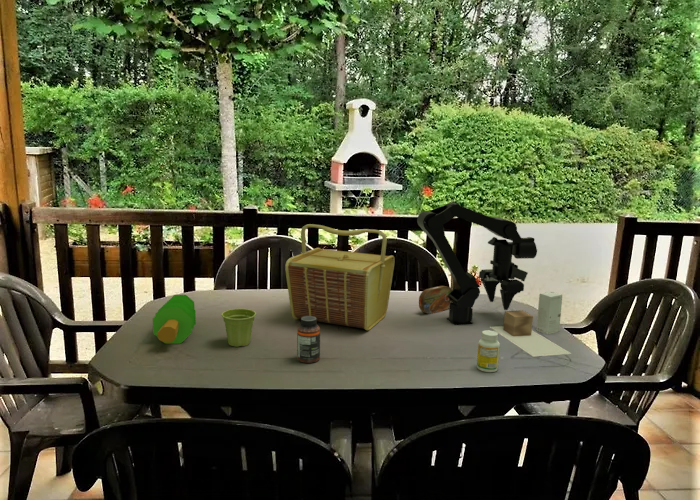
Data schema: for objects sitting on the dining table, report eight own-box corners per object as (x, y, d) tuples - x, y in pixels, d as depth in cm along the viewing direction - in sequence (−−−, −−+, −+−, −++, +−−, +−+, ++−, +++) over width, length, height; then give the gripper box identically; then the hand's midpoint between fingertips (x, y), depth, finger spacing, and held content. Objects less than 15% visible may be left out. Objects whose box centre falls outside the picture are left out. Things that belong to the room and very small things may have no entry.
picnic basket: (281, 323, 173) (281, 228, 167) (316, 302, 197) (318, 218, 191) (369, 338, 162) (372, 236, 157) (395, 314, 186) (399, 225, 180)
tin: (423, 316, 185) (424, 291, 183) (416, 313, 187) (417, 289, 185) (453, 308, 194) (454, 285, 192) (446, 306, 196) (447, 283, 195)
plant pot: (262, 340, 158) (262, 310, 157) (245, 351, 149) (245, 320, 148) (233, 335, 161) (233, 306, 160) (215, 346, 152) (214, 316, 151)
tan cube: (513, 336, 166) (515, 317, 165) (503, 329, 172) (504, 311, 171) (531, 335, 167) (533, 316, 166) (520, 328, 173) (522, 310, 172)
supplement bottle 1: (305, 353, 149) (306, 313, 147) (324, 358, 146) (325, 317, 144) (292, 360, 144) (292, 318, 142) (311, 365, 141) (312, 323, 139)
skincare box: (547, 335, 169) (551, 296, 166) (535, 331, 172) (538, 293, 170) (559, 332, 172) (563, 294, 170) (547, 327, 176) (551, 290, 173)
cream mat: (533, 357, 151) (533, 356, 151) (488, 327, 174) (489, 326, 174) (571, 354, 153) (571, 353, 153) (523, 325, 177) (523, 324, 177)
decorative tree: (155, 308, 144) (174, 276, 173) (139, 346, 146) (161, 308, 175) (197, 323, 147) (208, 289, 176) (181, 361, 149) (195, 321, 178)
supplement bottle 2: (492, 374, 139) (495, 338, 137) (472, 368, 142) (475, 332, 140) (501, 368, 143) (504, 332, 141) (482, 362, 146) (485, 327, 144)
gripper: (541, 264, 170) (536, 313, 173) (509, 252, 188) (506, 296, 191) (508, 265, 168) (504, 314, 171) (479, 253, 185) (476, 298, 188)
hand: (498, 305), depth 180 cm, fingers open, 9 cm apart
